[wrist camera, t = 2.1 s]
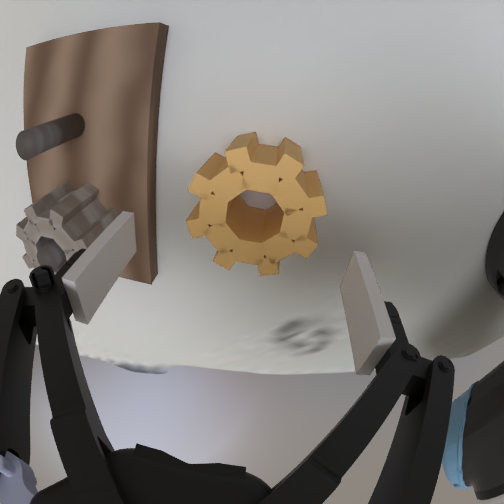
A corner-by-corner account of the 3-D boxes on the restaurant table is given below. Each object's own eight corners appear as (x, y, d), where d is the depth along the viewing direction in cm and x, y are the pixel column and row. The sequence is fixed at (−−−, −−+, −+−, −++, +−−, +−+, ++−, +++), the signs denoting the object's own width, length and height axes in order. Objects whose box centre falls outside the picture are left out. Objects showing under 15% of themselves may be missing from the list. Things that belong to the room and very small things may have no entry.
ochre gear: (328, 146, 23) (340, 165, 18) (303, 245, 29) (305, 284, 24) (211, 125, 23) (190, 139, 18) (202, 227, 29) (184, 261, 24)
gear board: (168, 26, 19) (114, 7, 11) (157, 273, 33) (125, 330, 25) (38, 46, 19) (-24, 54, 11) (53, 248, 33) (13, 290, 25)
